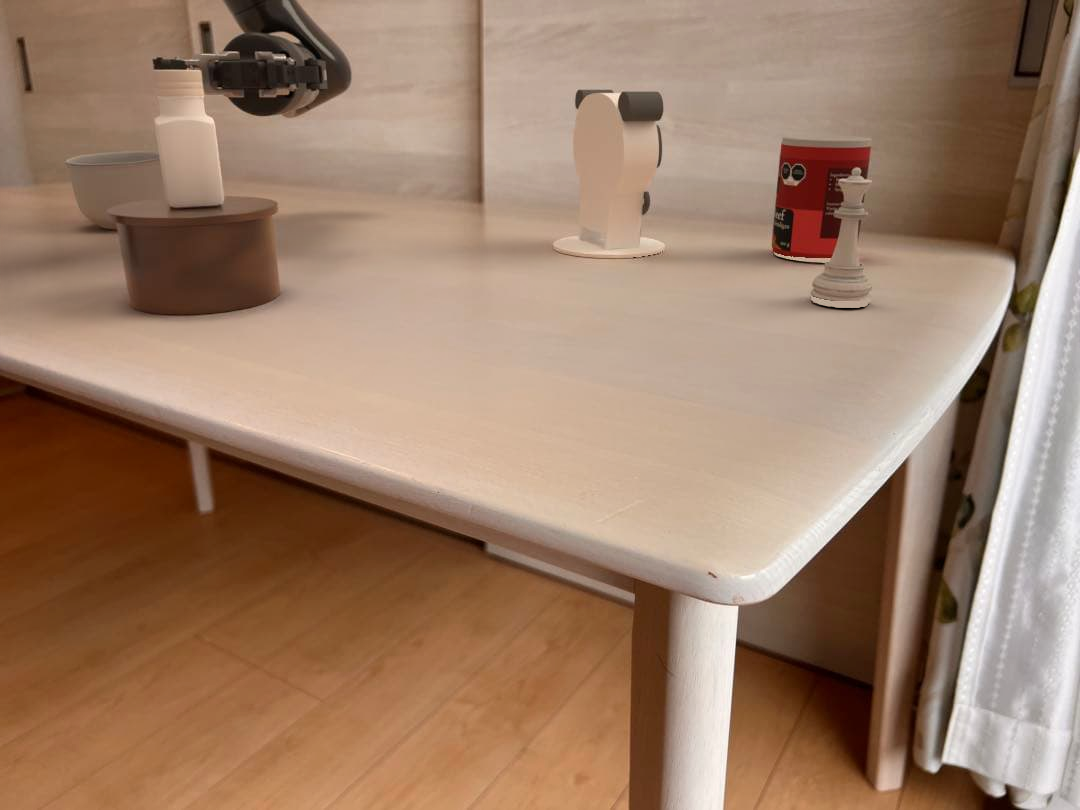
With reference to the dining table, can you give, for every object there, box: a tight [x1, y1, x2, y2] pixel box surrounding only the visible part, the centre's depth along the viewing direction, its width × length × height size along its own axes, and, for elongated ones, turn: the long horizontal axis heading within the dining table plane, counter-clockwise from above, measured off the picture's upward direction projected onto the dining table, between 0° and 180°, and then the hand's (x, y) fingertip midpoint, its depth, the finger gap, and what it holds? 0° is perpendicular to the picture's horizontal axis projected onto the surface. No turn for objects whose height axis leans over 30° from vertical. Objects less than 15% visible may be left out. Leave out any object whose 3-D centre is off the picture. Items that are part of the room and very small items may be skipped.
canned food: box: [771, 134, 872, 258], centre depth 81 cm, size 8×8×11 cm
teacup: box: [64, 150, 166, 231], centre depth 99 cm, size 14×11×8 cm
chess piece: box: [810, 168, 873, 301], centre depth 64 cm, size 4×4×10 cm
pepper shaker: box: [152, 69, 225, 209], centre depth 63 cm, size 4×4×10 cm
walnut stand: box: [107, 195, 281, 316], centre depth 66 cm, size 12×12×7 cm
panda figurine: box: [552, 89, 666, 259], centre depth 84 cm, size 12×11×15 cm
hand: (219, 73), depth 70 cm, fingers open, 8 cm apart
